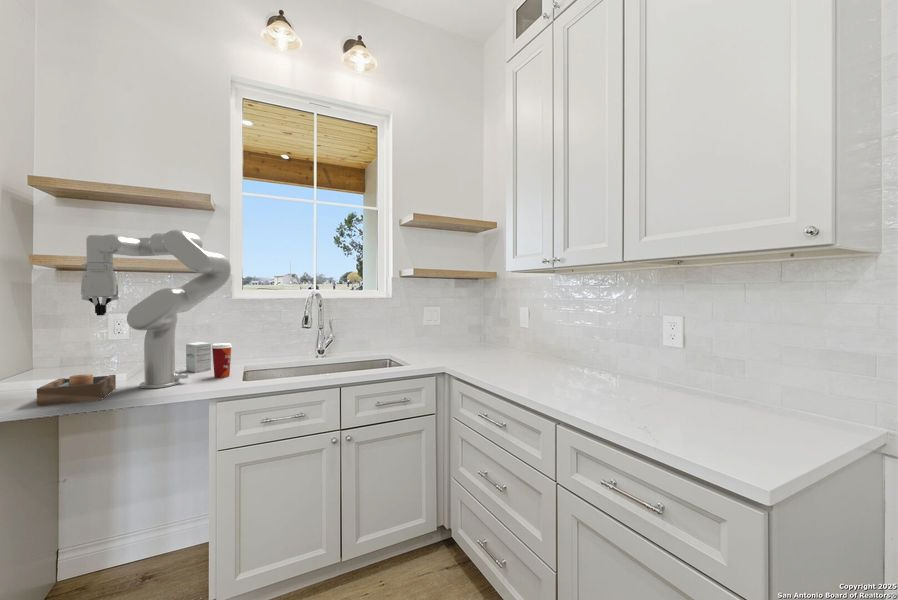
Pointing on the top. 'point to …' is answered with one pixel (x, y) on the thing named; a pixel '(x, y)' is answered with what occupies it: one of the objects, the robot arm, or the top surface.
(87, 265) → the robot arm
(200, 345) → the supplement box
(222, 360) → the paper cup
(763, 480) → the top surface
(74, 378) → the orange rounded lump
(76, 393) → the brown wooden open box
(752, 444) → the top surface
